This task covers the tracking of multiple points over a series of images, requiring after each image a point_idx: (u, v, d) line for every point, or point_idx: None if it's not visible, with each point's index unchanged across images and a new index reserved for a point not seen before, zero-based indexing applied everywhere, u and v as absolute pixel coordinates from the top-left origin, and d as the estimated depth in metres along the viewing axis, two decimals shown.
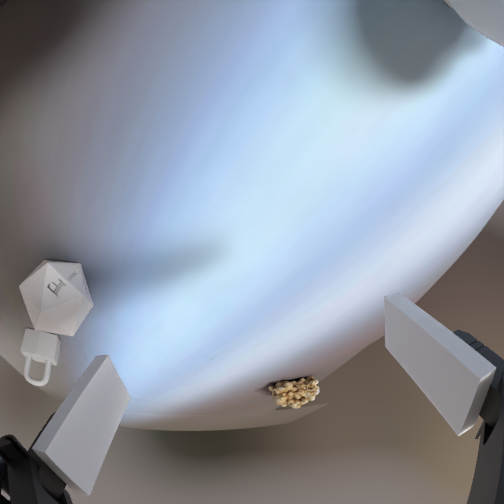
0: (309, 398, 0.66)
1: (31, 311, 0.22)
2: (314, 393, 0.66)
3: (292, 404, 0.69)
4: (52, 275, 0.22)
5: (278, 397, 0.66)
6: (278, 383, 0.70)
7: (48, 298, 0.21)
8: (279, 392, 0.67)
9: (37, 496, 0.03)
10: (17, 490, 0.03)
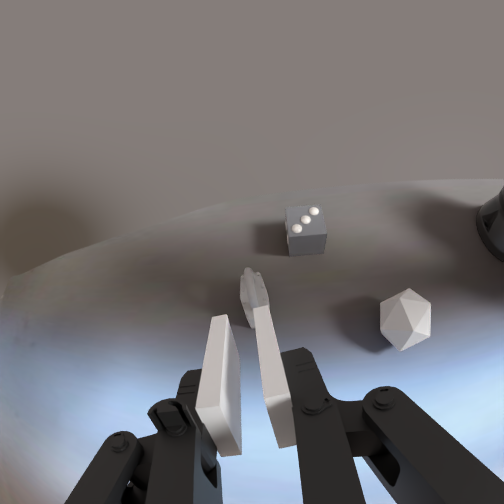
0: None
1: (412, 296, 0.34)
2: None
3: None
4: None
5: None
6: None
7: None
8: None
9: (194, 481, 0.05)
10: (163, 468, 0.05)
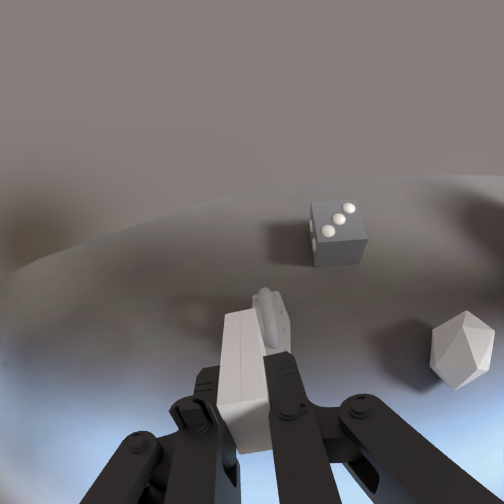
0: None
1: (474, 322, 0.22)
2: None
3: None
4: None
5: None
6: None
7: None
8: None
9: (216, 481, 0.05)
10: (184, 467, 0.05)
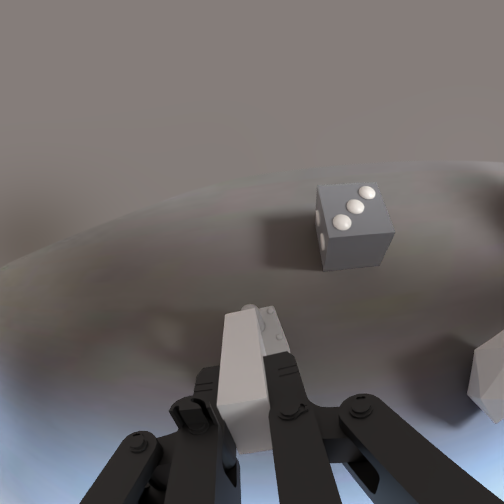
0: None
1: None
2: None
3: None
4: None
5: None
6: None
7: None
8: None
9: (216, 481, 0.05)
10: (184, 466, 0.05)
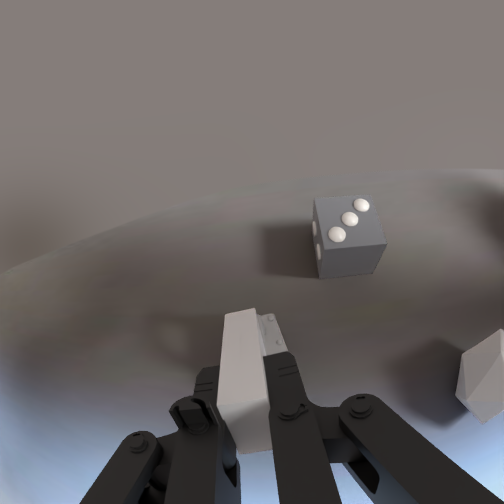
0: None
1: None
2: None
3: None
4: None
5: None
6: None
7: None
8: None
9: (216, 481, 0.05)
10: (184, 466, 0.05)
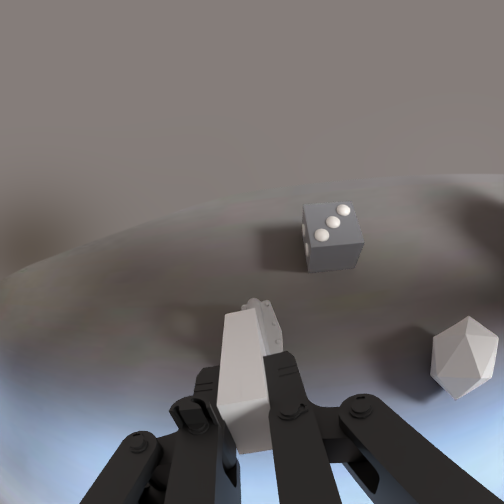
0: None
1: (478, 329, 0.21)
2: None
3: None
4: None
5: None
6: None
7: None
8: None
9: (216, 481, 0.05)
10: (184, 466, 0.05)
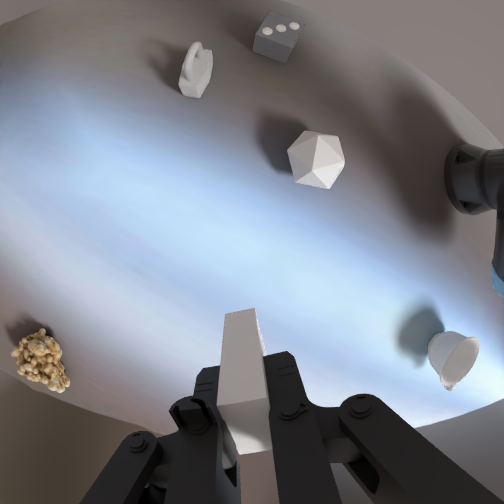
0: (53, 384, 0.40)
1: (333, 143, 0.36)
2: (60, 388, 0.41)
3: (29, 365, 0.39)
4: (341, 170, 0.39)
5: (44, 345, 0.40)
6: None
7: (342, 167, 0.37)
8: (49, 344, 0.41)
9: (216, 481, 0.05)
10: (184, 466, 0.05)
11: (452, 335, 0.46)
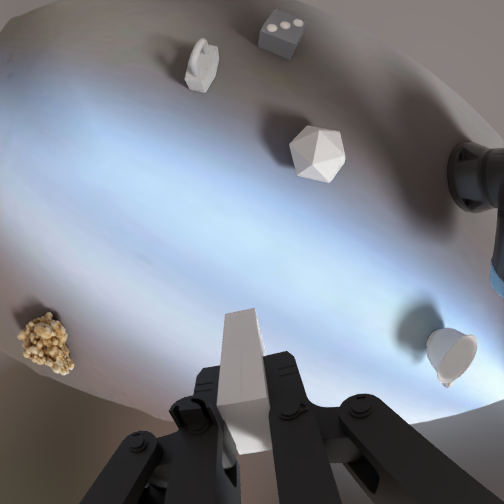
0: (57, 367, 0.43)
1: (334, 138, 0.36)
2: (64, 370, 0.44)
3: (34, 347, 0.42)
4: (342, 164, 0.40)
5: (50, 328, 0.43)
6: None
7: (342, 161, 0.38)
8: (55, 327, 0.44)
9: (216, 481, 0.05)
10: (184, 466, 0.05)
11: (451, 332, 0.46)
